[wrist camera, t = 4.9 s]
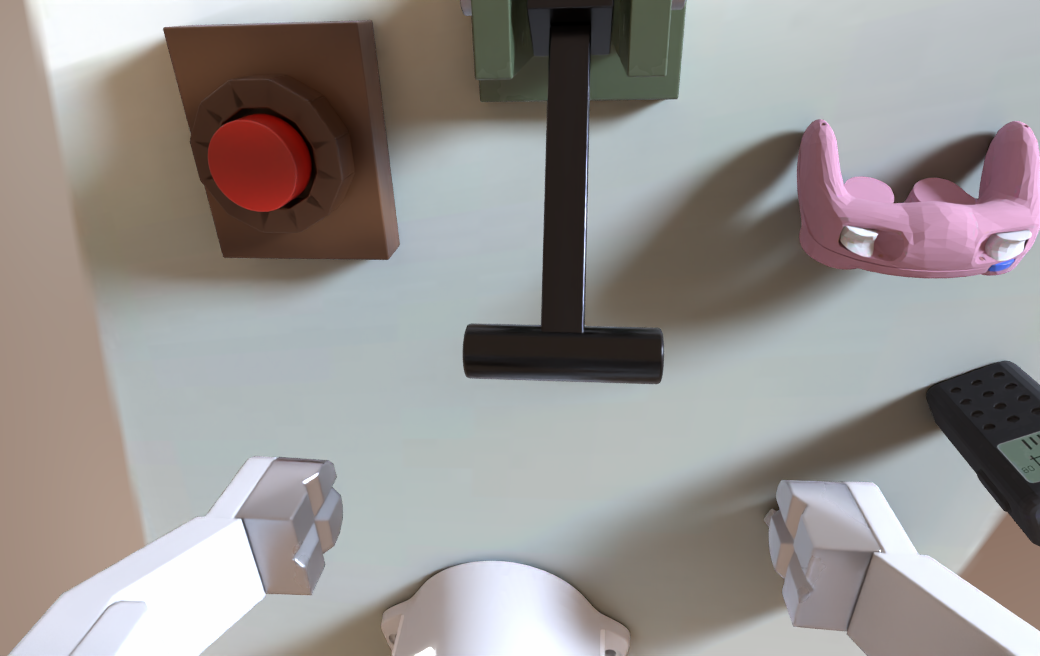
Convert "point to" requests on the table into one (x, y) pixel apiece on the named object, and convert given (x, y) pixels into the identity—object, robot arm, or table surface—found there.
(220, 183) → the button
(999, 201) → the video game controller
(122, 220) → the table surface
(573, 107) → the lever
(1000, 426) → the walkie-talkie
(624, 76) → the bracket
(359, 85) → the button block
